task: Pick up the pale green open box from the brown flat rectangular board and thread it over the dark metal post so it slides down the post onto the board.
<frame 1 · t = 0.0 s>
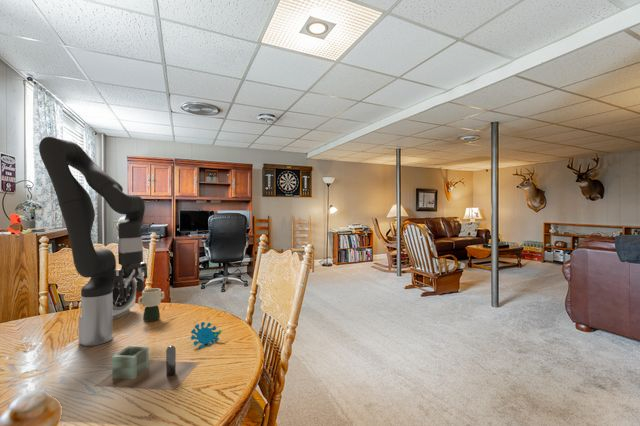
hand: (132, 294, 110), 17 cm above the table, tool pointing down, fingers open, 8 cm apart
metal post: (170, 374, 87), resting on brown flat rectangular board
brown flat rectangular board: (150, 377, 88), on the table
gear: (206, 346, 108), on the table
character mug: (151, 320, 131), on the table
pale green open box: (131, 372, 88), point 1 cm above the table, touching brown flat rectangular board
alarm clock: (115, 316, 136), on the table
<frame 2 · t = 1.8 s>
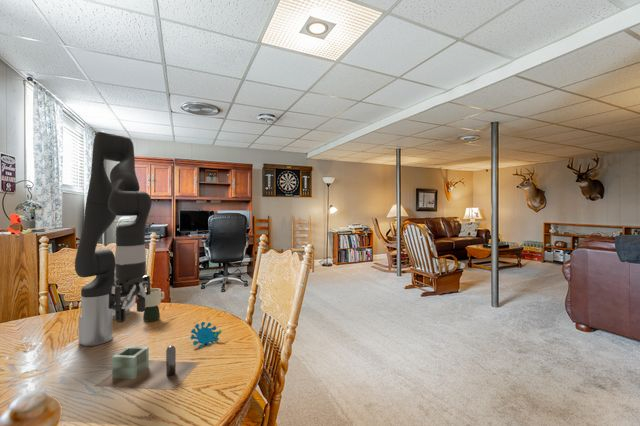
hand: (131, 316, 88), 17 cm above the table, tool pointing down, fingers open, 8 cm apart
nothing on the table moved.
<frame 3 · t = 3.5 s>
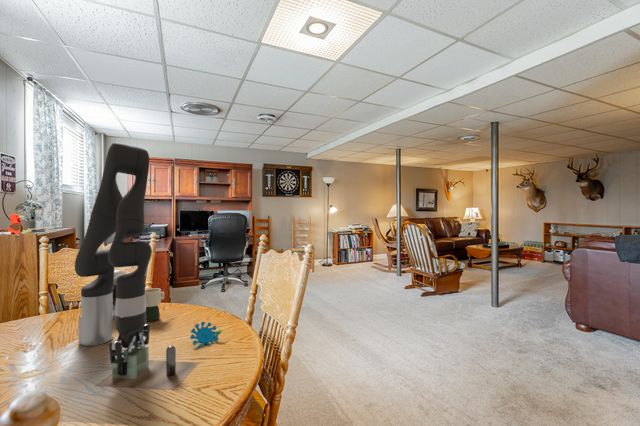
hand: (131, 368, 88), 2 cm above the table, tool pointing down, fingers closed on pale green open box, 6 cm apart
pale green open box: (131, 372, 88), point 1 cm above the table, touching gripper, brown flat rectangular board
everything else where it was.
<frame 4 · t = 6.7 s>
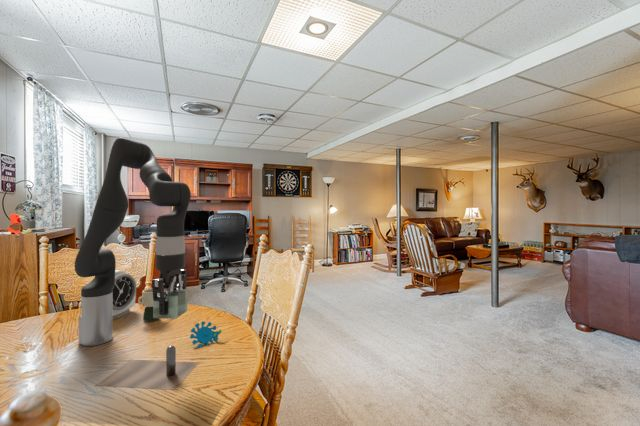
hand: (170, 310, 87), 20 cm above the table, tool pointing down, fingers closed on pale green open box, 6 cm apart
pale green open box: (170, 314, 87), point 19 cm above the table, touching gripper
everything else where it was.
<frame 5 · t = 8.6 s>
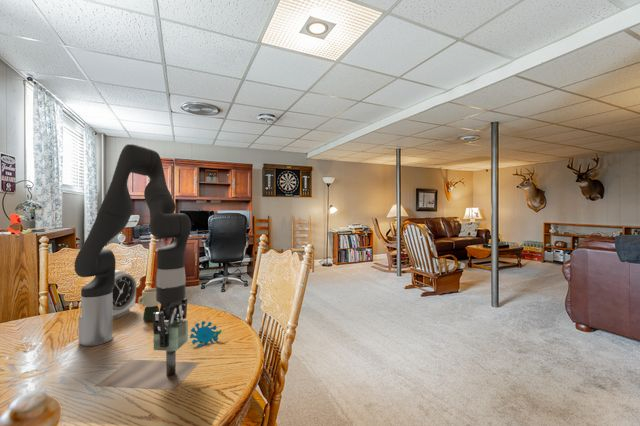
hand: (171, 341, 87), 11 cm above the table, tool pointing down, fingers closed on pale green open box, 6 cm apart
pale green open box: (171, 345, 87), point 10 cm above the table, touching gripper
everything else where it was.
when the fingers open (8 cm above the table, at t = 9.9 s): pale green open box drops 6 cm, resting on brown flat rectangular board.
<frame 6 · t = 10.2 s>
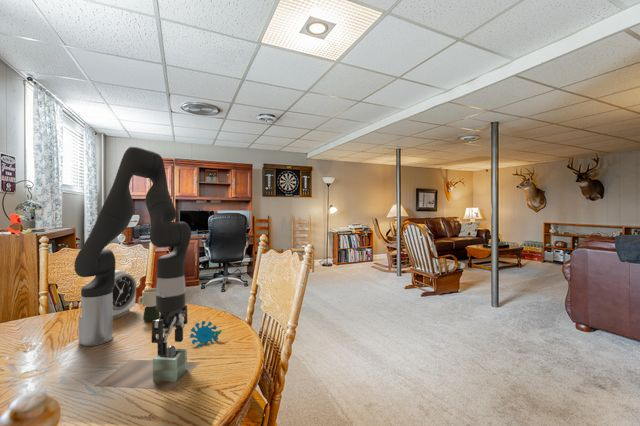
hand: (170, 348, 87), 9 cm above the table, tool pointing down, fingers open, 8 cm apart
pale green open box: (170, 374, 87), point 1 cm above the table, touching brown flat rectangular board
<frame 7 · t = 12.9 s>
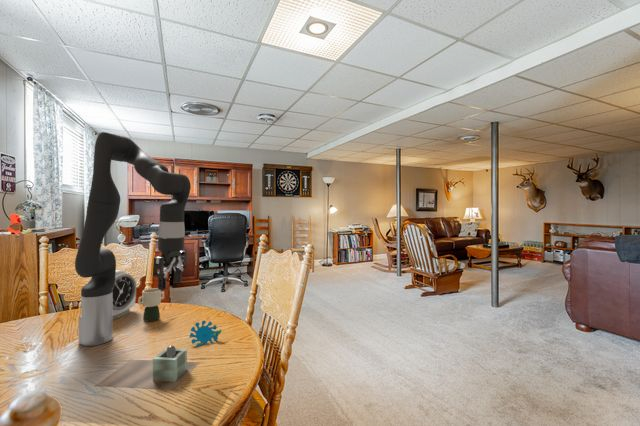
hand: (170, 286, 97), 24 cm above the table, tool pointing down, fingers open, 8 cm apart
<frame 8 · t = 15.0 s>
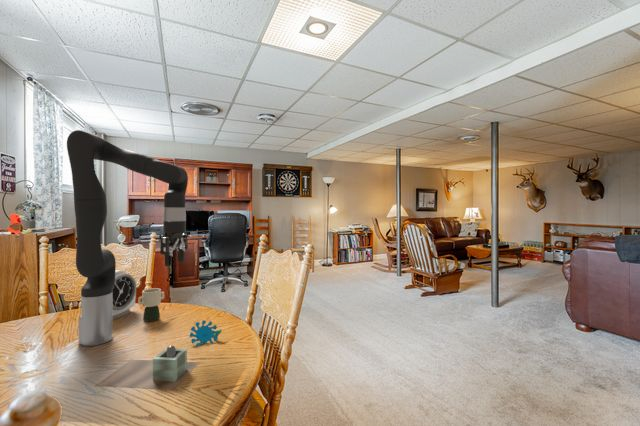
hand: (174, 263, 112), 28 cm above the table, tool pointing down, fingers open, 8 cm apart
at the end: pale green open box 0.2 cm off-centre on the metal post, point 0.0 cm above the metal post's base; pale green open box tilted 0°; the gripper is holding nothing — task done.
